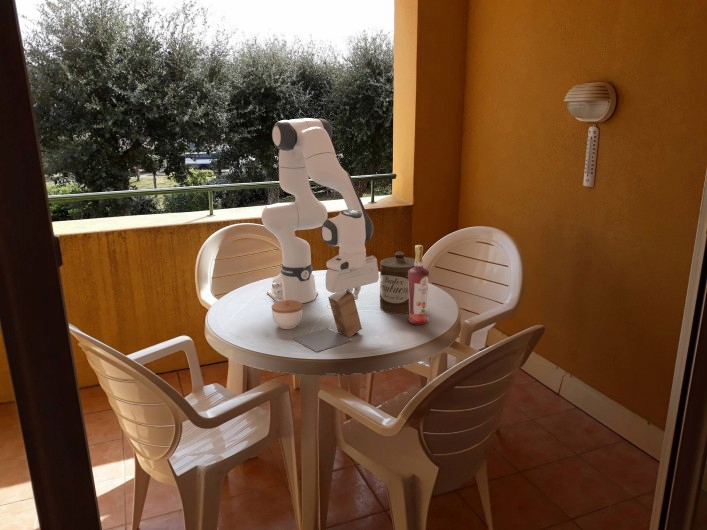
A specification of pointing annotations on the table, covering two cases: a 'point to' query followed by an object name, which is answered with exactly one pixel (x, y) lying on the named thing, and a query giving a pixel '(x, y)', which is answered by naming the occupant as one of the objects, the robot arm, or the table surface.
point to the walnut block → (345, 313)
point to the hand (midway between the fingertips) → (353, 299)
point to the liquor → (418, 289)
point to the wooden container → (395, 283)
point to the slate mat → (321, 340)
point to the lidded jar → (287, 313)
